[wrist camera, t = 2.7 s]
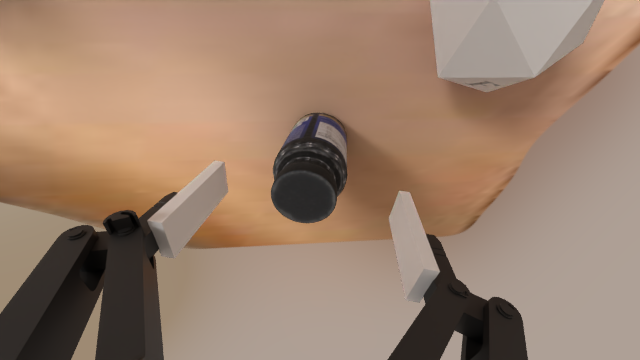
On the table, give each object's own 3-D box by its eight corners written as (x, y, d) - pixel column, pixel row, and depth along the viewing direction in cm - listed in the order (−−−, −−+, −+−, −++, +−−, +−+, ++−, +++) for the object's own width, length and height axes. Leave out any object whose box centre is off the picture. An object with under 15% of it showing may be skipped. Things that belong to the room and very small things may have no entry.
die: (393, 14, 19) (420, 112, 15) (507, -165, 11) (615, -52, 8) (464, 43, 22) (501, 130, 18) (594, -83, 14) (701, 26, 11)
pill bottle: (298, 164, 27) (271, 231, 18) (286, 114, 24) (247, 164, 15) (349, 160, 26) (349, 229, 17) (345, 107, 23) (342, 157, 14)
